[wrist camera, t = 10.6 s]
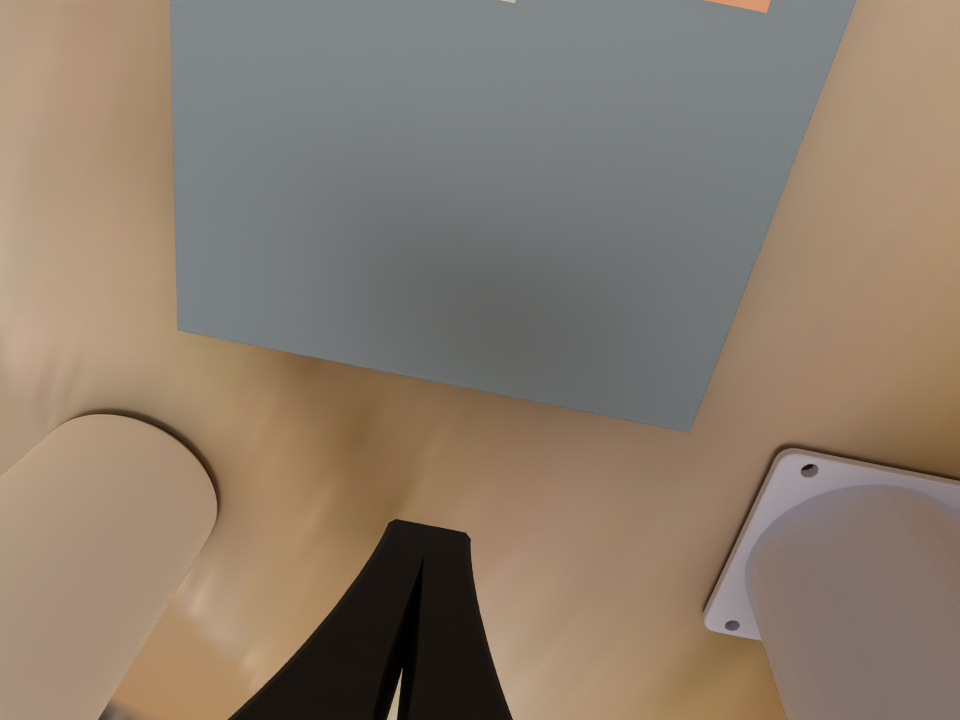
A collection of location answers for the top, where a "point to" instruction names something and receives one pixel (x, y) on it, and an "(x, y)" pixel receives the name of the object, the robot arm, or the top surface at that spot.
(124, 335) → the top surface
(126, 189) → the top surface
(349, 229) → the board
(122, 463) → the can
